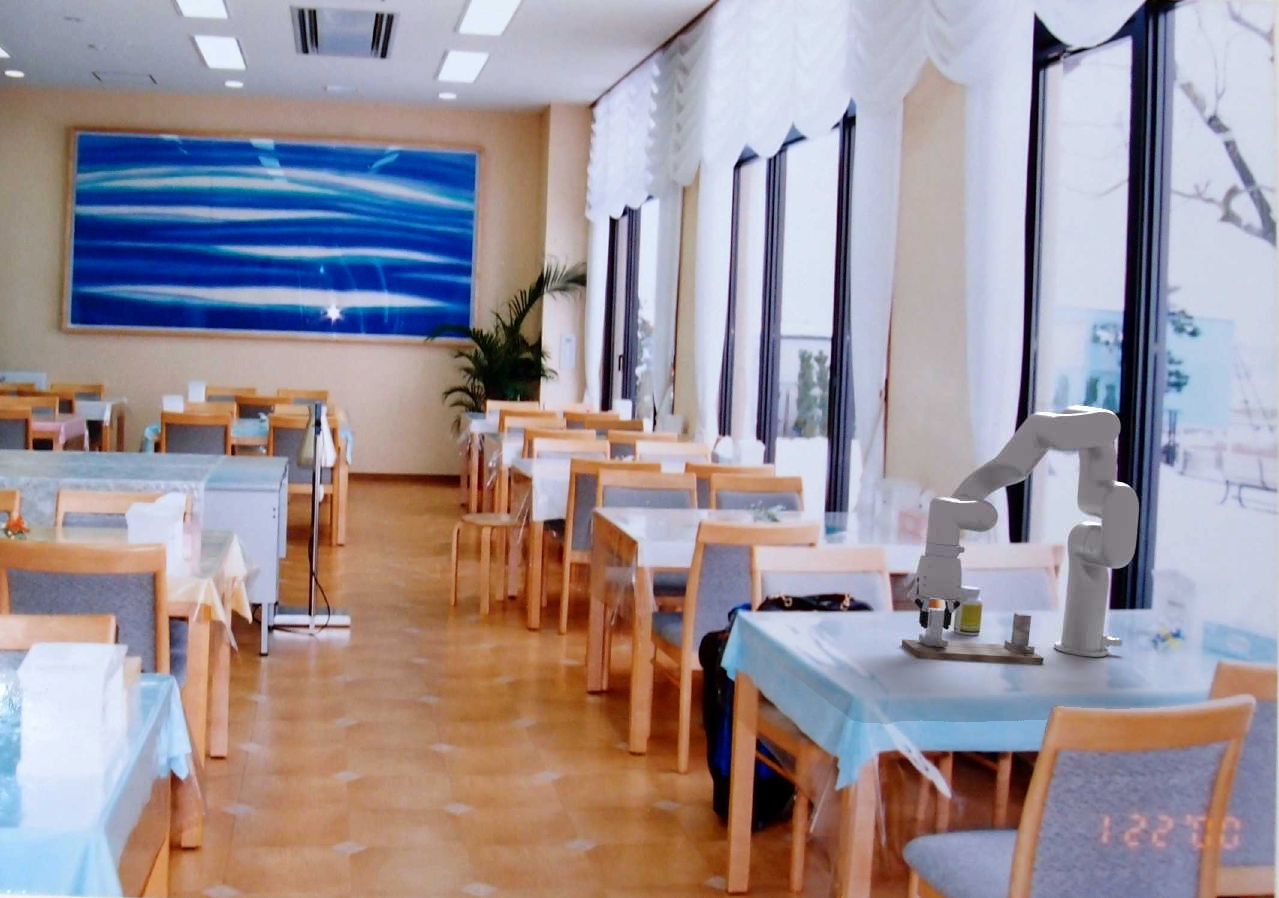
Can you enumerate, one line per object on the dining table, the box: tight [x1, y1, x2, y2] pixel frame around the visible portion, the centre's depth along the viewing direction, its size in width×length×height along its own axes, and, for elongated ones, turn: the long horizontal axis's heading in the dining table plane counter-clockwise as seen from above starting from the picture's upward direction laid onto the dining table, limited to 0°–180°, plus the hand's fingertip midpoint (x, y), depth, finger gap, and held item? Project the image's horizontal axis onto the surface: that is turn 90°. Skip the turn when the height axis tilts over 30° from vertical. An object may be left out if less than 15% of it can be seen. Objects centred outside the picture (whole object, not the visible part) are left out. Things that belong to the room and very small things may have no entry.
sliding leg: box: [918, 607, 949, 647], centre depth 330 cm, size 5×9×8 cm, turn 6°
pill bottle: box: [953, 585, 983, 636], centre depth 355 cm, size 6×6×12 cm
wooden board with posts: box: [901, 612, 1045, 665], centre depth 331 cm, size 30×12×10 cm, turn 96°
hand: (934, 626), depth 331 cm, fingers open, 4 cm apart
